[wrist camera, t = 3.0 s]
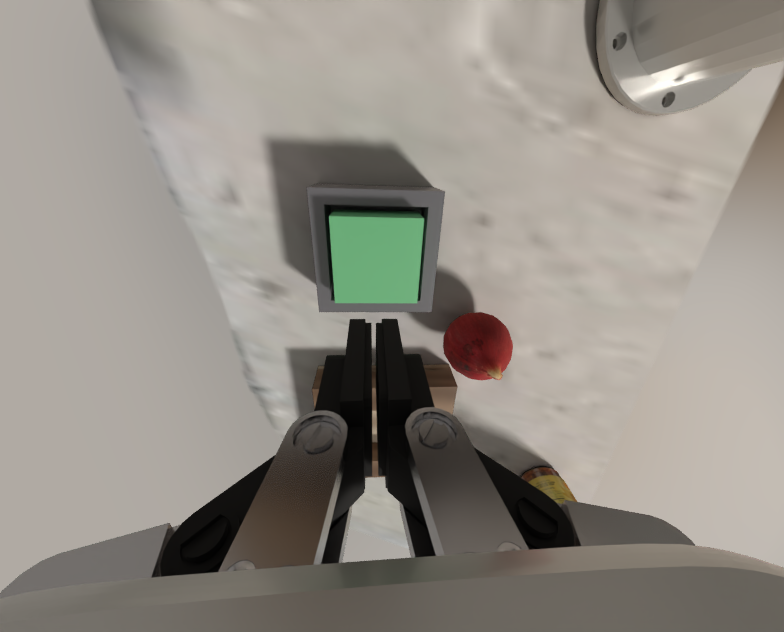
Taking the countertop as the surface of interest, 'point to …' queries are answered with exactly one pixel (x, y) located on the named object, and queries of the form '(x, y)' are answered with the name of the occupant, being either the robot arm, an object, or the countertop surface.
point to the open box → (440, 390)
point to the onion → (478, 346)
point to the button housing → (380, 199)
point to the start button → (376, 255)
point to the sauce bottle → (549, 483)
